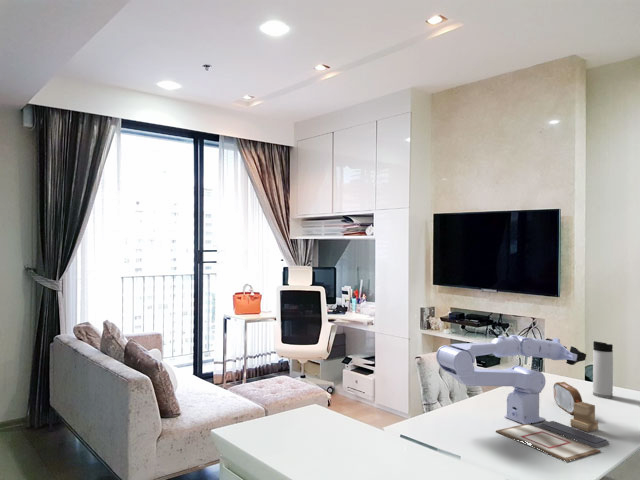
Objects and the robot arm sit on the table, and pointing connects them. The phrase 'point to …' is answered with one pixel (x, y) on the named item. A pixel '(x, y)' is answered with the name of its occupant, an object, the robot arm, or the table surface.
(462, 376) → the robot arm
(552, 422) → the ink pad
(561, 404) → the tin
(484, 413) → the table surface
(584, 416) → the stamp
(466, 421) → the table surface
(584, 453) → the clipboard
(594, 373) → the travel mug
